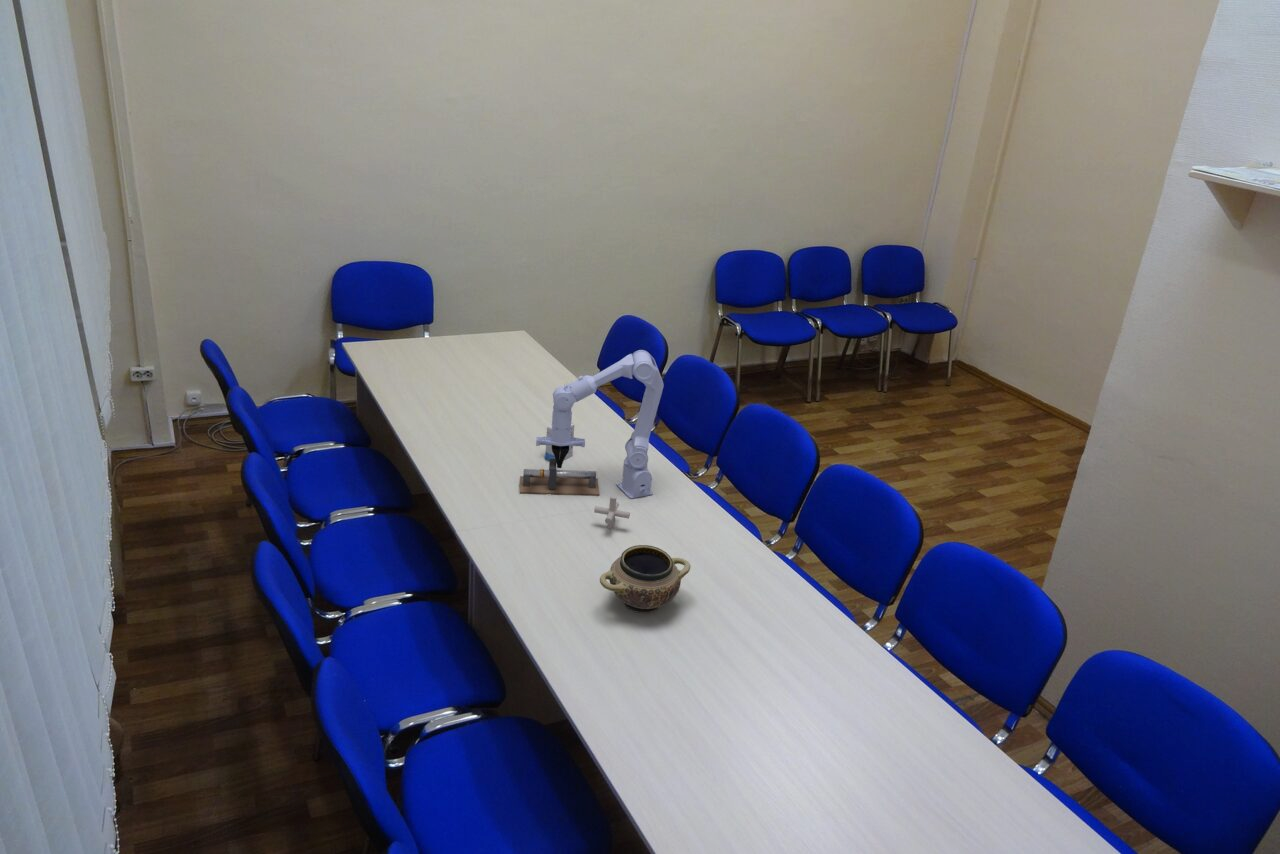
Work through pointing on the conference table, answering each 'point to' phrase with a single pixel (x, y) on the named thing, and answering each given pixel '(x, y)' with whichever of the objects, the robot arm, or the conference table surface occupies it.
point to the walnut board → (559, 487)
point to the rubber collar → (552, 474)
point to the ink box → (549, 452)
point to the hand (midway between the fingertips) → (559, 466)
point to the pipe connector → (612, 512)
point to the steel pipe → (559, 475)
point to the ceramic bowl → (645, 578)
